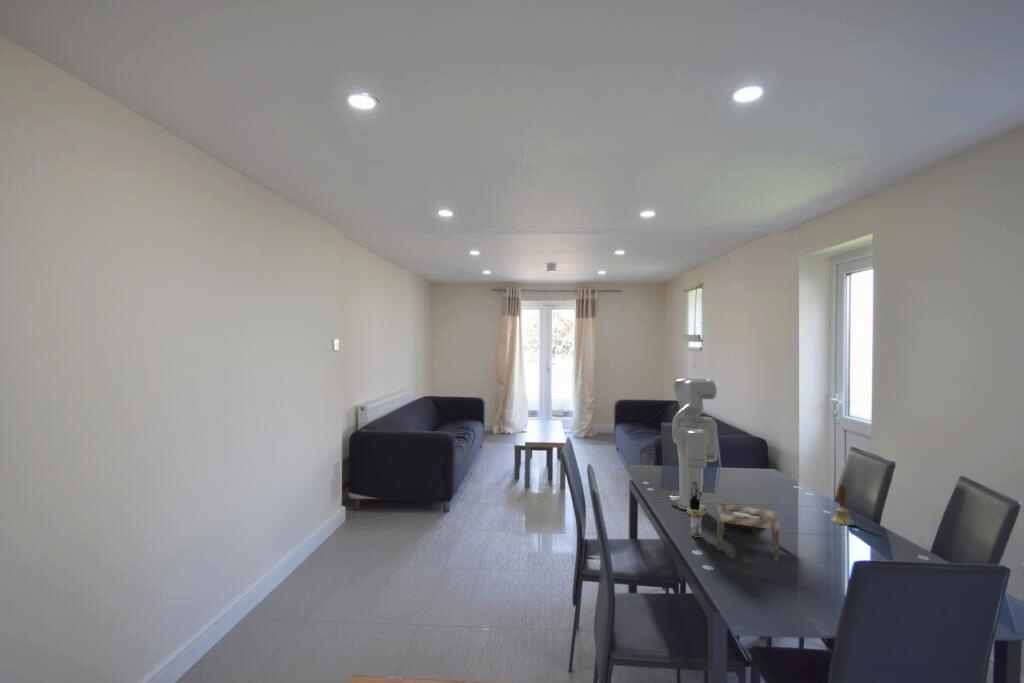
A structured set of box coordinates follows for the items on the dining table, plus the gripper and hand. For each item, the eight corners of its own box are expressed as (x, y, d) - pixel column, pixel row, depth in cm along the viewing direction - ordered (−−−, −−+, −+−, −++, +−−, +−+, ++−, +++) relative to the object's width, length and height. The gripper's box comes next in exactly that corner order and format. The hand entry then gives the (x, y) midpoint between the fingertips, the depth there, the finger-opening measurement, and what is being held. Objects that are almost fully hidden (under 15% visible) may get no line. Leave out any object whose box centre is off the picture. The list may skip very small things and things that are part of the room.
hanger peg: (685, 537, 180) (685, 496, 181) (687, 531, 187) (687, 491, 187) (704, 540, 177) (704, 498, 178) (706, 534, 183) (706, 494, 184)
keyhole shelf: (716, 550, 168) (716, 517, 169) (719, 533, 184) (719, 503, 185) (779, 562, 159) (779, 527, 159) (777, 543, 175) (777, 511, 175)
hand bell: (829, 522, 198) (829, 484, 198) (832, 517, 204) (832, 481, 204) (853, 527, 192) (852, 488, 192) (855, 522, 198) (855, 484, 198)
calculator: (723, 520, 190) (733, 509, 201) (723, 530, 190) (734, 519, 201) (752, 527, 183) (761, 515, 194) (753, 538, 183) (762, 525, 194)
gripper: (688, 456, 192) (688, 498, 192) (683, 465, 177) (683, 510, 176) (708, 458, 188) (708, 501, 188) (704, 468, 173) (704, 514, 173)
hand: (696, 505), depth 182 cm, fingers open, 9 cm apart
